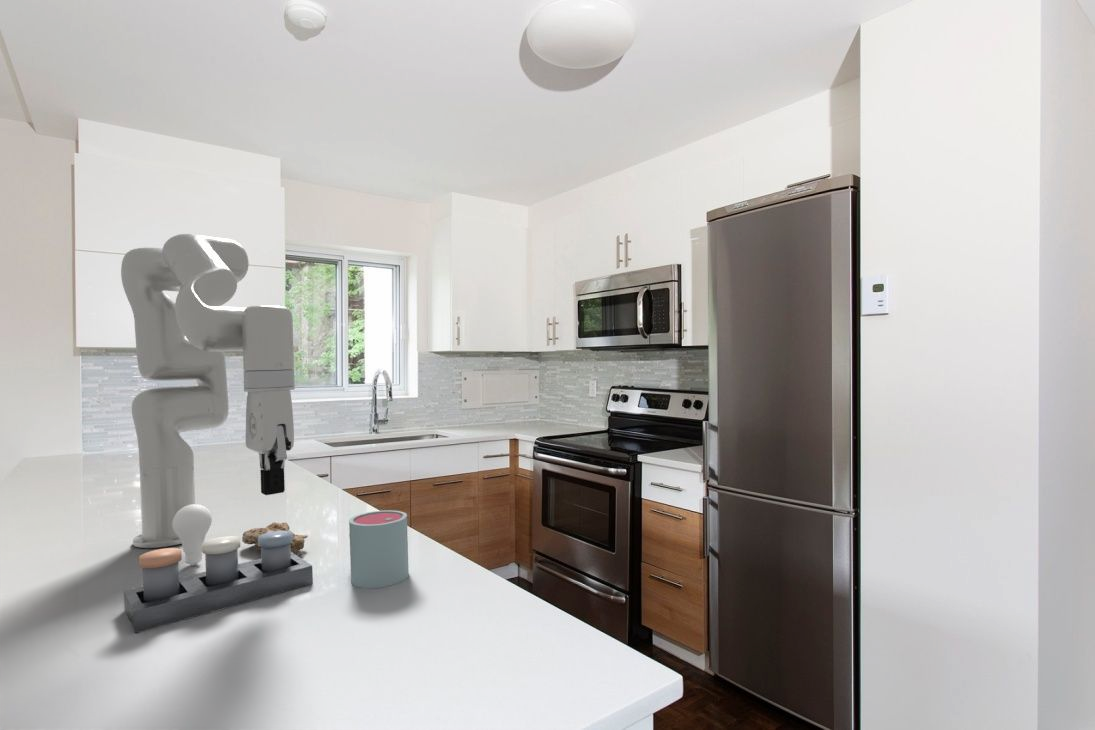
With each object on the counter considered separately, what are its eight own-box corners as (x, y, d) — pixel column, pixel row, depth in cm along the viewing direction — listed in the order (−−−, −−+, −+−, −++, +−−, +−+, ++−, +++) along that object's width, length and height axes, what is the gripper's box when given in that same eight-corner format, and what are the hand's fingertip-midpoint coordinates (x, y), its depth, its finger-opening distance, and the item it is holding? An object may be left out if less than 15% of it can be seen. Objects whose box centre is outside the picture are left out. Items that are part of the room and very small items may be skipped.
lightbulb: (195, 572, 103) (193, 509, 103) (165, 570, 104) (163, 508, 104) (221, 560, 109) (219, 500, 109) (192, 558, 110) (190, 500, 110)
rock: (334, 532, 115) (290, 535, 107) (329, 559, 115) (285, 564, 106) (281, 518, 124) (236, 519, 115) (276, 542, 123) (231, 546, 115)
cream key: (199, 580, 92) (198, 541, 92) (236, 572, 96) (234, 534, 95) (207, 590, 88) (206, 548, 88) (245, 580, 92) (244, 540, 92)
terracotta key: (137, 595, 87) (136, 553, 87) (178, 586, 90) (177, 545, 90) (143, 606, 83) (142, 562, 83) (186, 595, 86) (184, 553, 86)
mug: (419, 575, 99) (417, 516, 99) (369, 592, 92) (367, 529, 92) (375, 558, 108) (374, 503, 108) (327, 572, 101) (325, 514, 101)
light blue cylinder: (254, 572, 97) (253, 535, 97) (287, 564, 101) (286, 528, 101) (264, 581, 94) (263, 542, 93) (298, 572, 97) (297, 535, 97)
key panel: (124, 610, 88) (123, 590, 88) (291, 568, 104) (290, 551, 104) (134, 633, 80) (134, 611, 80) (312, 583, 96) (312, 565, 96)
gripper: (231, 381, 100) (235, 490, 100) (259, 383, 89) (263, 505, 89) (278, 379, 105) (281, 482, 105) (309, 381, 94) (313, 496, 94)
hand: (273, 492), depth 97 cm, fingers closed
